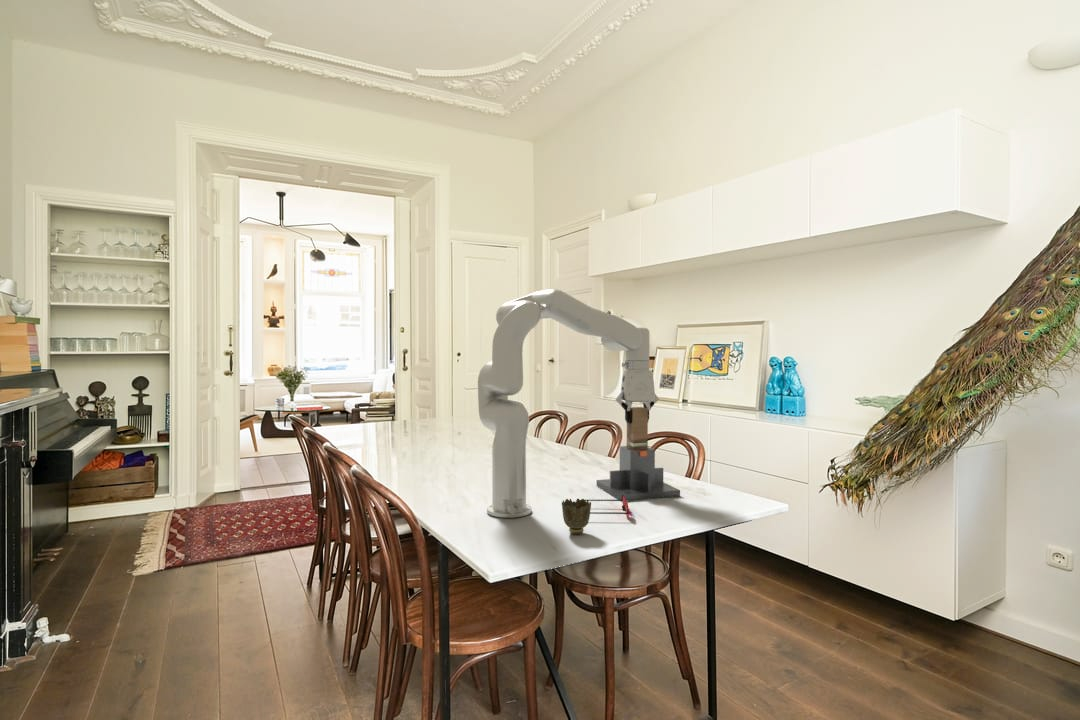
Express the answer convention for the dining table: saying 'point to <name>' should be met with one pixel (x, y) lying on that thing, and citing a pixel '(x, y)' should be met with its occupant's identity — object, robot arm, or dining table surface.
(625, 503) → the glasses
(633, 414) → the column
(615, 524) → the dining table surface
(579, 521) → the cup
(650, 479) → the stand
